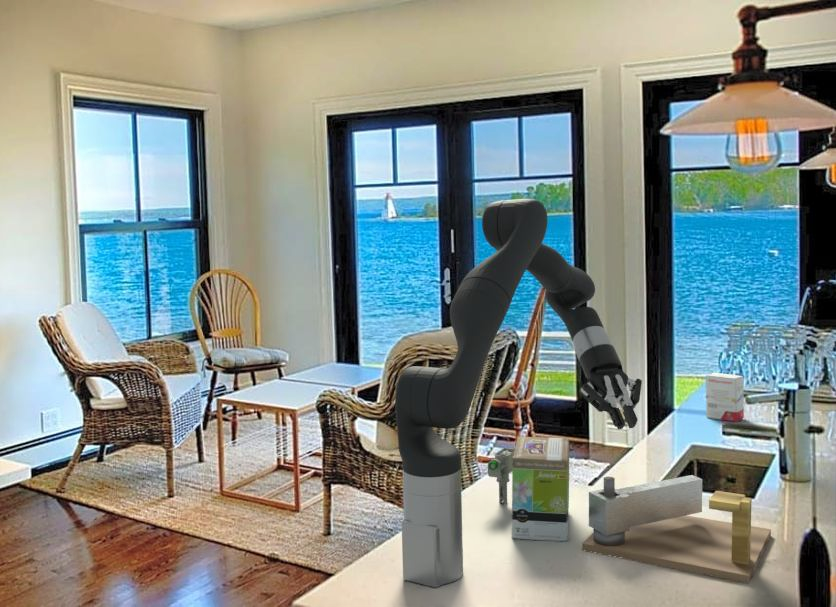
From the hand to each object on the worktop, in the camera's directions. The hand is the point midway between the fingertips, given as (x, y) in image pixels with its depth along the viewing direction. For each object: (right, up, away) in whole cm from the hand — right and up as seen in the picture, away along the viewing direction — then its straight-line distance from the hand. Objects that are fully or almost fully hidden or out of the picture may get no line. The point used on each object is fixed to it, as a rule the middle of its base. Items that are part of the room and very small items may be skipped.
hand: (627, 426), depth 161 cm
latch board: (+4, -17, -18) cm, 25 cm away
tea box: (-18, -17, -8) cm, 26 cm away
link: (0, -14, -16) cm, 21 cm away
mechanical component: (-24, -16, +4) cm, 29 cm away
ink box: (+42, -8, +65) cm, 77 cm away
